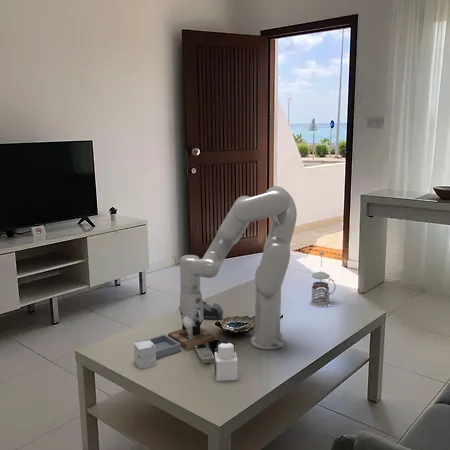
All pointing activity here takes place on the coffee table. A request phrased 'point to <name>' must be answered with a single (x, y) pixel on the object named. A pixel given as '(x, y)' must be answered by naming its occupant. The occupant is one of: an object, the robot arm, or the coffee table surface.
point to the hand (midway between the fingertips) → (191, 331)
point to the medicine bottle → (226, 361)
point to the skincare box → (145, 354)
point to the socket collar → (190, 344)
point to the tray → (165, 346)
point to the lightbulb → (189, 326)
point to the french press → (320, 300)
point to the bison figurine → (212, 311)
